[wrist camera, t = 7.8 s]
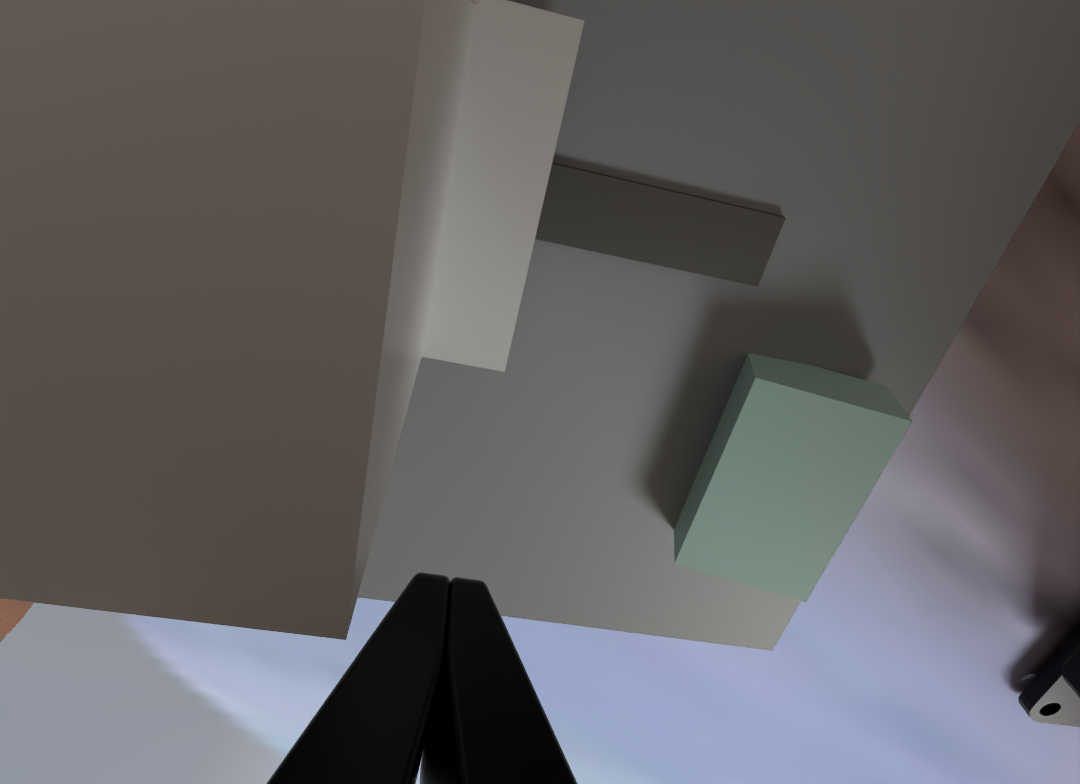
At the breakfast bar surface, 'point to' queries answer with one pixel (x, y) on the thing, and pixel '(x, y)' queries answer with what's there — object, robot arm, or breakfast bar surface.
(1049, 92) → the console
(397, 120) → the white stepped block
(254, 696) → the breakfast bar surface
